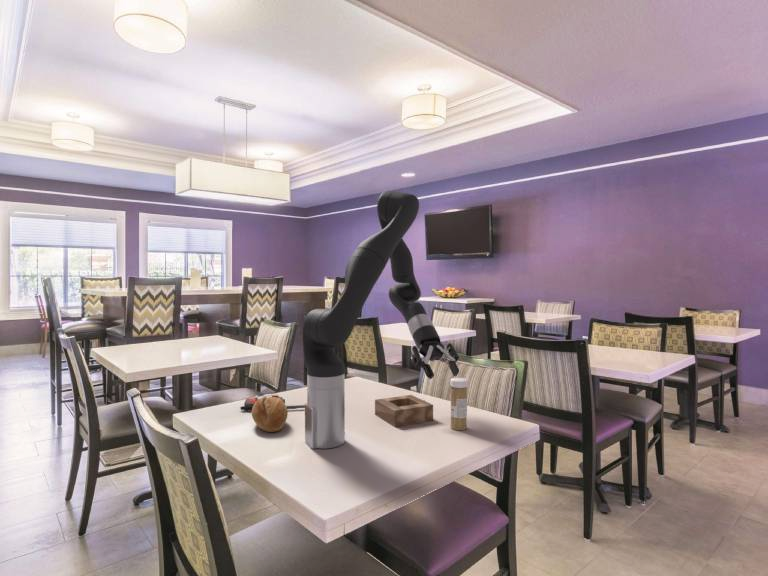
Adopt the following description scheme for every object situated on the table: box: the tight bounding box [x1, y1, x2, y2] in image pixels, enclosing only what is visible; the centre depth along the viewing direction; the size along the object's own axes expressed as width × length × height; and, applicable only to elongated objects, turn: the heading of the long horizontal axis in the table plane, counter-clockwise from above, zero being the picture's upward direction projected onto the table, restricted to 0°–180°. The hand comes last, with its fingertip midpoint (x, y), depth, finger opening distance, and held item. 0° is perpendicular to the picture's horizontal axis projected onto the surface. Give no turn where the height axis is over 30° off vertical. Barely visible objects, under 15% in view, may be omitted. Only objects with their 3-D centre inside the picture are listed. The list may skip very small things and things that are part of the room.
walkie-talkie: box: [240, 393, 305, 412], centre depth 141 cm, size 9×4×20 cm
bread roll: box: [251, 396, 289, 433], centre depth 123 cm, size 10×15×8 cm, turn 21°
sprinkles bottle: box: [450, 377, 468, 431], centre depth 122 cm, size 5×5×14 cm
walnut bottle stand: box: [374, 394, 434, 428], centre depth 131 cm, size 13×13×4 cm
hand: (444, 375), depth 128 cm, fingers open, 8 cm apart
